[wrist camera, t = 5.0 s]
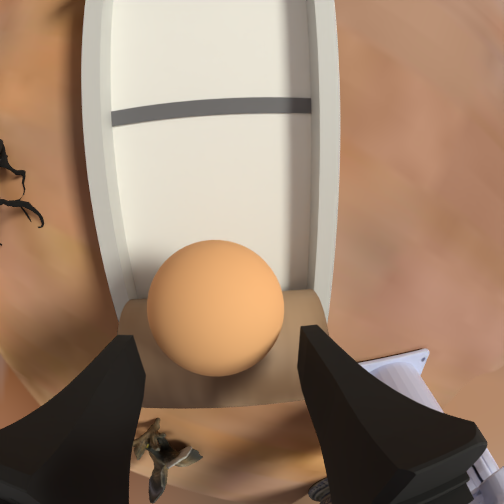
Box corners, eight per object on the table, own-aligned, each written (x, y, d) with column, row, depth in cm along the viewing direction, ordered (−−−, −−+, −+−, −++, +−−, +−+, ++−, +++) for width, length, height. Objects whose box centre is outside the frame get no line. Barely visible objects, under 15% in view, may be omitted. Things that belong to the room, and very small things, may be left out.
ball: (278, 363, 13) (303, 380, 8) (167, 369, 13) (133, 388, 8) (269, 254, 14) (287, 215, 10) (162, 260, 14) (128, 225, 9)
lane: (311, 349, 21) (325, 388, 18) (145, 358, 21) (135, 399, 17) (313, -42, 11) (334, -74, 7) (106, -29, 10) (82, -57, 7)
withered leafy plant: (100, 425, 22) (137, 481, 24) (120, 475, 16) (163, 526, 19) (170, 396, 26) (196, 454, 28) (205, 437, 21) (230, 492, 23)
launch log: (298, 349, 20) (320, 418, 14) (156, 357, 19) (141, 428, 14) (304, 269, 18) (337, 334, 12) (137, 279, 17) (105, 346, 11)
